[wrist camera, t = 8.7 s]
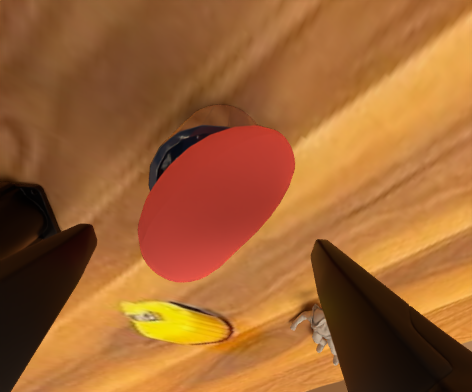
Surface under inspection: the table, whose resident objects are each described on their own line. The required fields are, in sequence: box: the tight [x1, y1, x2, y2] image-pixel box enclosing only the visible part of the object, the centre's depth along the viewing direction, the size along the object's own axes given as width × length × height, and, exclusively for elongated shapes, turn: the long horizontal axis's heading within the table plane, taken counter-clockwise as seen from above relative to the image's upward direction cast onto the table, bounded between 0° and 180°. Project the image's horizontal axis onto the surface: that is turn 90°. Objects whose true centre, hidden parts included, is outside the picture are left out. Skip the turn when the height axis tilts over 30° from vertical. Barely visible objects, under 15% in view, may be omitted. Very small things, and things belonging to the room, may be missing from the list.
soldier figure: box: [290, 303, 339, 365], centre depth 30 cm, size 8×5×12 cm
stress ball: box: [138, 125, 295, 282], centre depth 11 cm, size 5×9×6 cm, turn 131°
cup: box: [149, 105, 258, 191], centre depth 16 cm, size 7×7×8 cm
